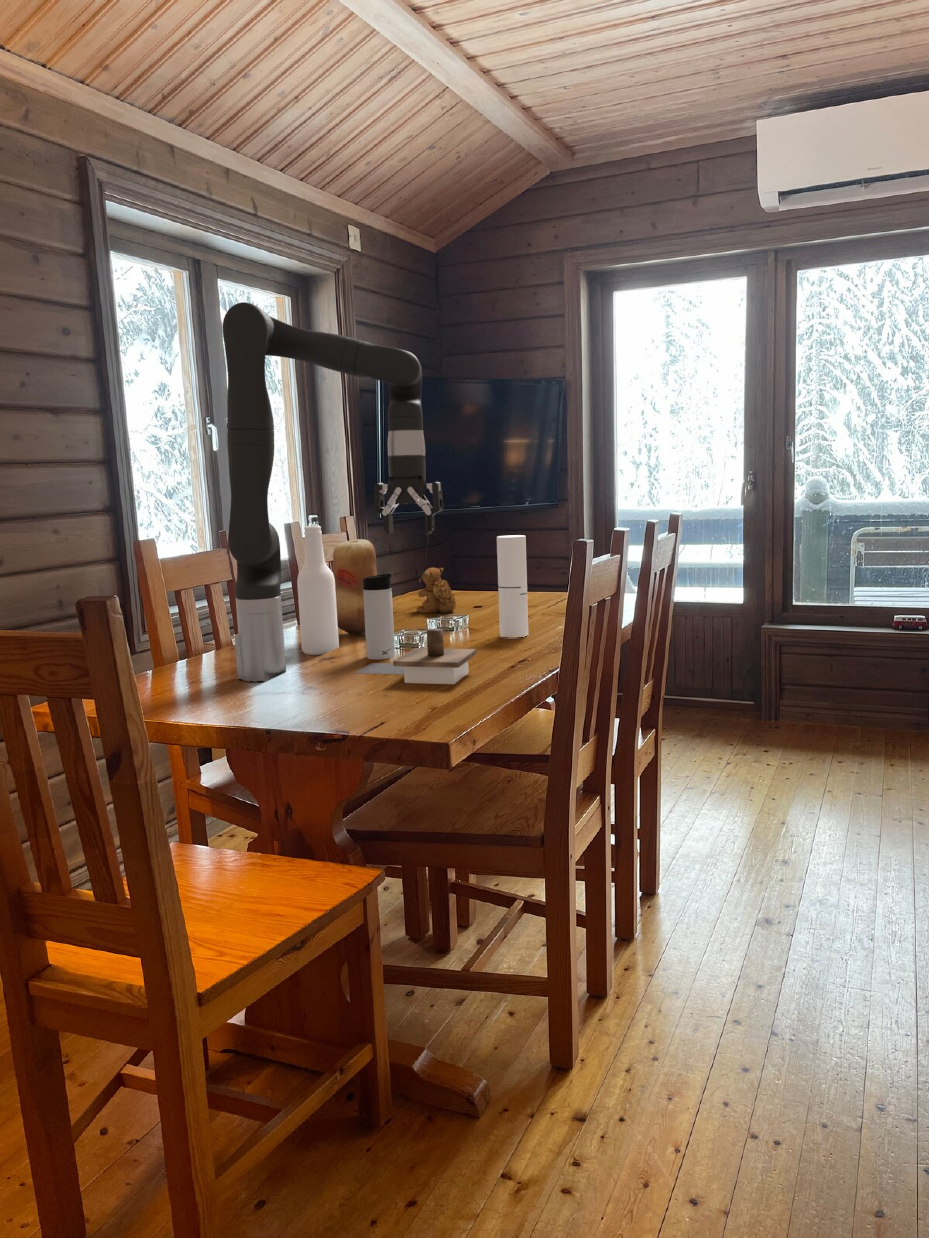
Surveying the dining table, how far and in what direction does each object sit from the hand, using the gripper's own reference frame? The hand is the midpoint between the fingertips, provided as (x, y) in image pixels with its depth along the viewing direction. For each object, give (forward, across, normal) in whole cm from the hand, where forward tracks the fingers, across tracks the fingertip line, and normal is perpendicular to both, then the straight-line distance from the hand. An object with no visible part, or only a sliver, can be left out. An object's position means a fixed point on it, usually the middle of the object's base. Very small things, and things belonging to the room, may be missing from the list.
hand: (409, 533), depth 190 cm
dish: (+29, +9, -10) cm, 32 cm away
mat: (+29, -3, -4) cm, 30 cm away
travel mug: (+29, -11, +8) cm, 32 cm away
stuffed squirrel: (+29, -22, +82) cm, 90 cm away
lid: (+24, +9, -10) cm, 28 cm away
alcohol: (+30, -31, +19) cm, 47 cm away
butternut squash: (+30, -30, +41) cm, 59 cm away
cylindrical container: (+29, +11, +44) cm, 53 cm away
